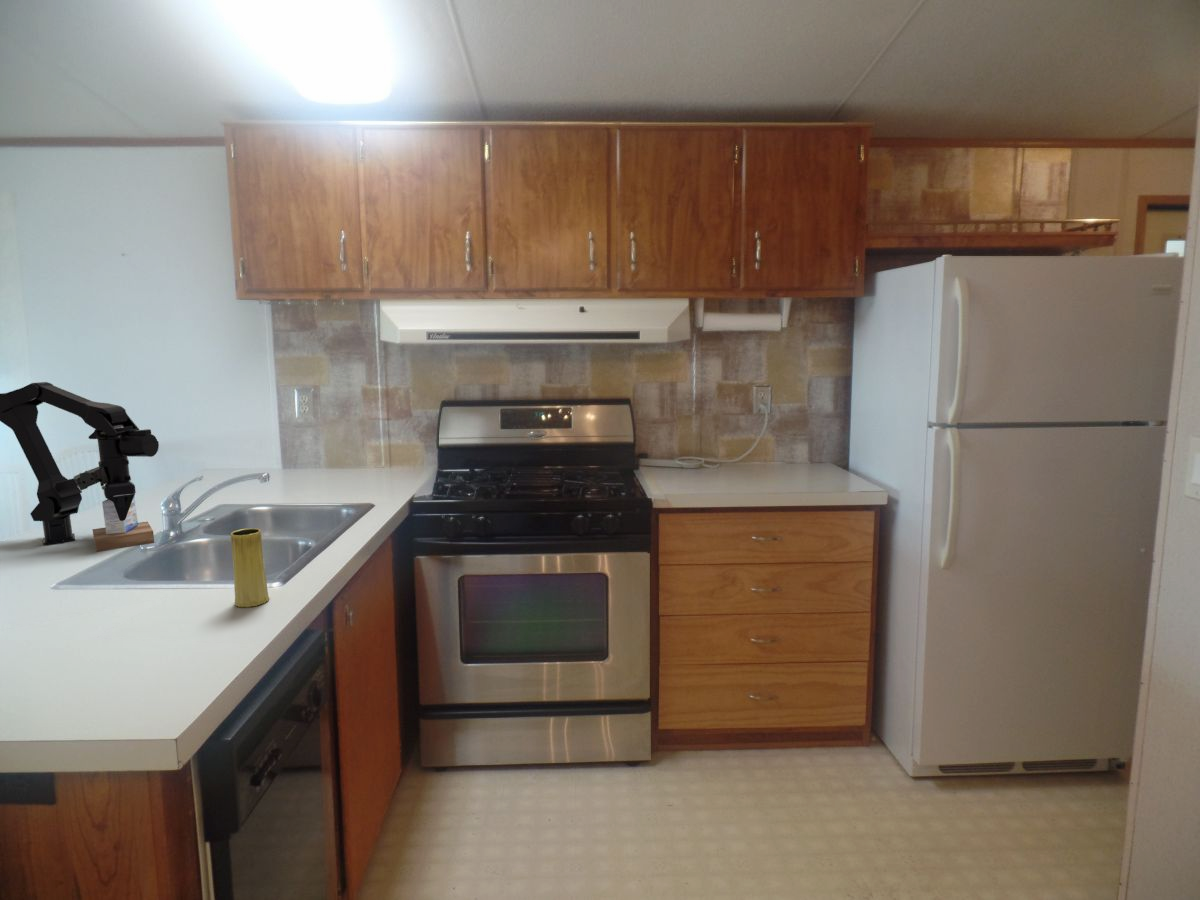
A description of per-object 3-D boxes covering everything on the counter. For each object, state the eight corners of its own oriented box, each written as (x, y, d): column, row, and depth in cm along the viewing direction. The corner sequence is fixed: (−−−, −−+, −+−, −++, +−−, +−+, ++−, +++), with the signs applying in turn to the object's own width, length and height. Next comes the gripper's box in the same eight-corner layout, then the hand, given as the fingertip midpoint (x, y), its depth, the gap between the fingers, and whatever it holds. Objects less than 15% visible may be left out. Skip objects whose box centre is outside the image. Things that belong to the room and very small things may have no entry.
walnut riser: (93, 540, 181) (92, 529, 180) (148, 532, 188) (147, 521, 187) (96, 551, 171) (95, 539, 171) (154, 542, 178) (153, 531, 178)
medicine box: (125, 533, 176) (121, 499, 174) (105, 534, 175) (101, 500, 173) (138, 525, 183) (134, 493, 182) (119, 526, 182) (115, 494, 181)
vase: (275, 596, 141) (269, 527, 138) (257, 608, 135) (251, 536, 132) (246, 595, 141) (240, 527, 139) (227, 607, 135) (220, 535, 133)
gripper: (72, 454, 178) (80, 514, 181) (75, 465, 164) (83, 530, 166) (124, 450, 185) (131, 507, 188) (132, 460, 171) (139, 522, 173)
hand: (120, 516), depth 179 cm, fingers open, 9 cm apart
